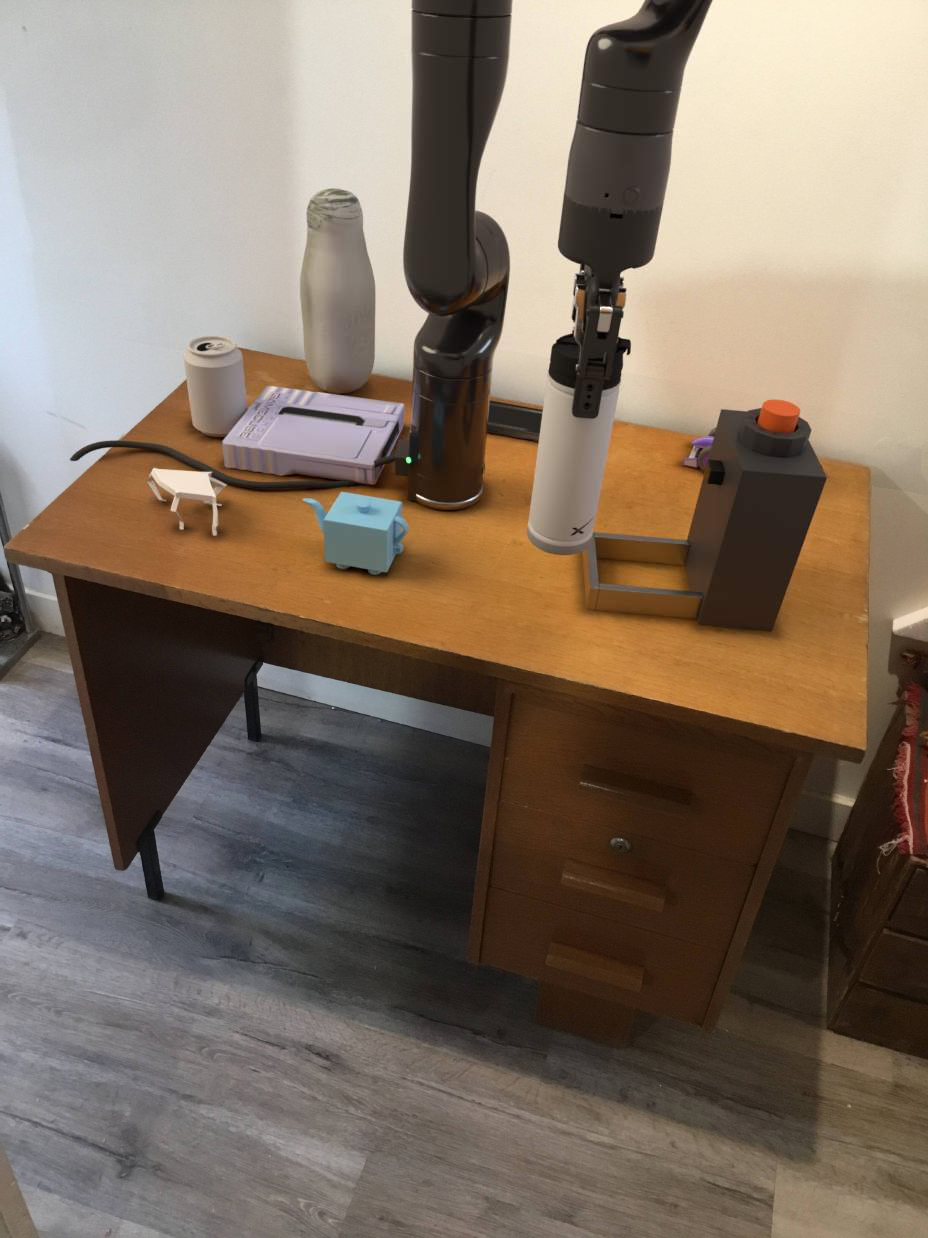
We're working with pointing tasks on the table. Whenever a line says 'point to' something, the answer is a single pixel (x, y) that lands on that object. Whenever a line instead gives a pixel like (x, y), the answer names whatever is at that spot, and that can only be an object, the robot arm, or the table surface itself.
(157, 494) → the origami figure
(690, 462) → the toy race car
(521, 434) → the phone
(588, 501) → the travel mug
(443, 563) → the table surface
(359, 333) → the grey bottle
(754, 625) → the coffee maker
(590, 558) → the frame
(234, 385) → the can
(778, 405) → the button
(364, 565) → the teapot
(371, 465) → the gaming console
